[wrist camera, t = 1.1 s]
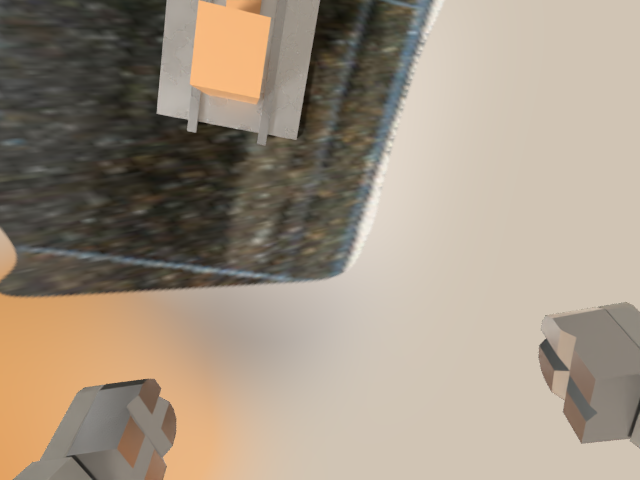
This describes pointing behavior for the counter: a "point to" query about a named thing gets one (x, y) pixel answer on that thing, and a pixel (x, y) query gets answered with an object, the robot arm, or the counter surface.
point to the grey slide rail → (277, 82)
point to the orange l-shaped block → (230, 50)
